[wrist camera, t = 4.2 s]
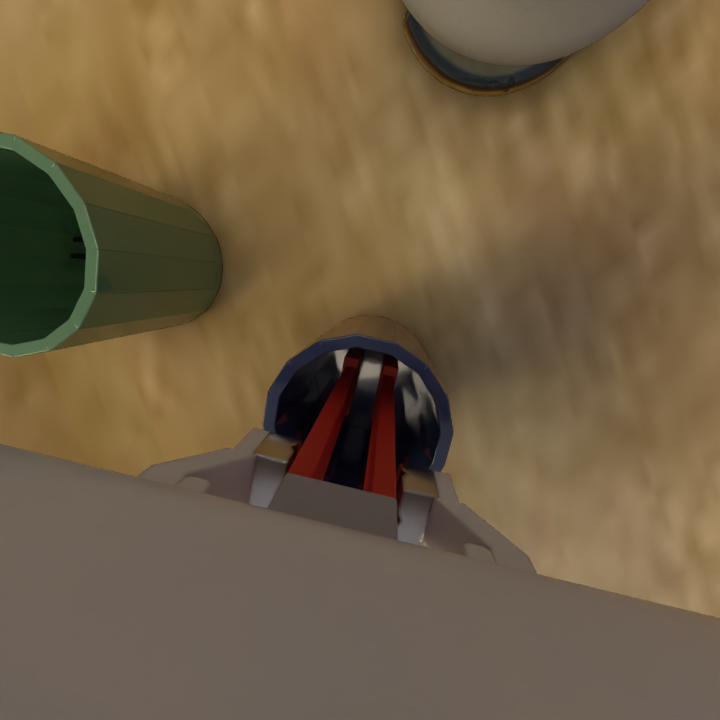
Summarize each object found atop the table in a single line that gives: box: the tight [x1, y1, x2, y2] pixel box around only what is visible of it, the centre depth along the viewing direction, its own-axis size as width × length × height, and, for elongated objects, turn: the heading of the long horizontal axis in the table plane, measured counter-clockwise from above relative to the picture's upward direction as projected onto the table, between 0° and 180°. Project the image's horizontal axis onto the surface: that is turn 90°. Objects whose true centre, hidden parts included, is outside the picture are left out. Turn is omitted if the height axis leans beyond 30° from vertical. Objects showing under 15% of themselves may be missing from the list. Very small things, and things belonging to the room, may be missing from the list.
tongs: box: [267, 348, 399, 540], centre depth 15 cm, size 3×3×16 cm
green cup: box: [0, 132, 222, 357], centre depth 18 cm, size 8×8×10 cm
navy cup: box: [263, 315, 453, 490], centre depth 19 cm, size 7×7×9 cm
